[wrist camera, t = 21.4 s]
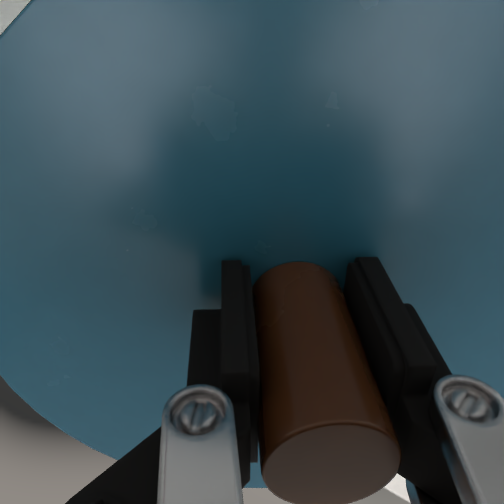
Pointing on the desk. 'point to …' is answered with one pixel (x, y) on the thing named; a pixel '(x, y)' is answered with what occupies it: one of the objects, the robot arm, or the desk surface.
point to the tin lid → (247, 210)
